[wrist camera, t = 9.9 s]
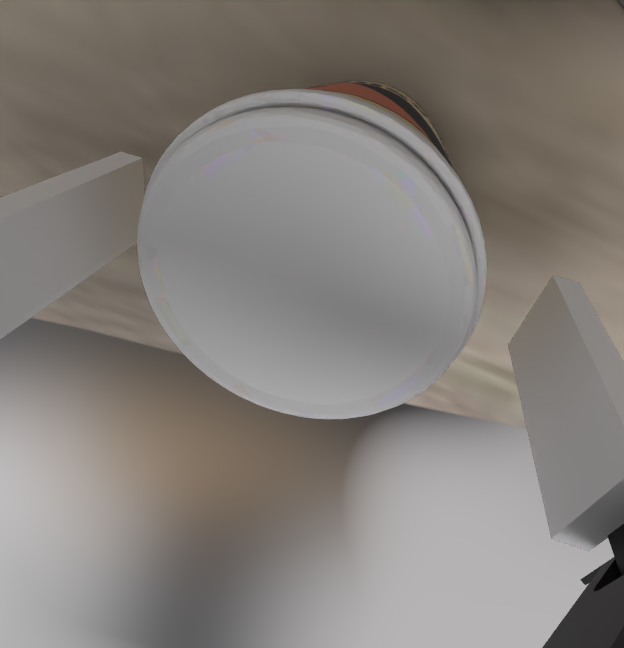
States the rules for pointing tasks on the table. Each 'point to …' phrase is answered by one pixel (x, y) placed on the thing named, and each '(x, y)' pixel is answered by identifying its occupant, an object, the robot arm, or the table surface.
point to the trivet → (621, 3)
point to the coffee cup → (314, 249)
